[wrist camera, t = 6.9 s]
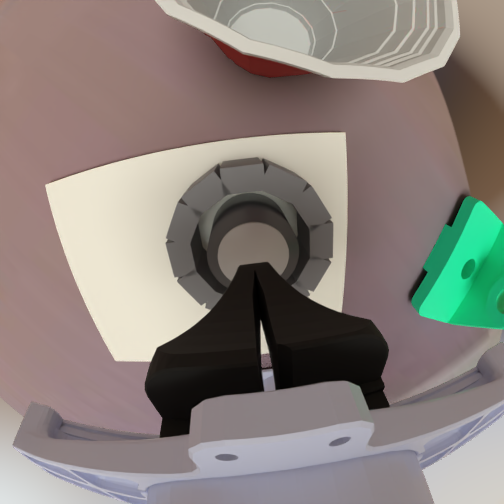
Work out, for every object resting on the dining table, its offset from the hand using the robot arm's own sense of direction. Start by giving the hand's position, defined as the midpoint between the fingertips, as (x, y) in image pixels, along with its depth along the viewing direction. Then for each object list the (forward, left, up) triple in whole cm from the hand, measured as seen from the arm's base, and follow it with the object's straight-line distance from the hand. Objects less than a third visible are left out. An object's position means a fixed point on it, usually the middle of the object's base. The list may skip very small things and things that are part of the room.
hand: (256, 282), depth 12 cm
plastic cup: (+13, -3, -8) cm, 16 cm away
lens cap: (0, 0, -7) cm, 7 cm away
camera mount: (-6, -20, -8) cm, 22 cm away
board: (-3, +4, -8) cm, 9 cm away
